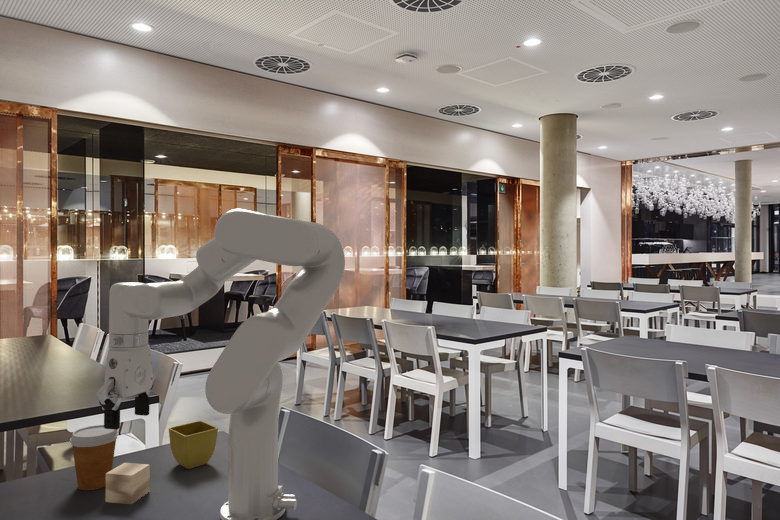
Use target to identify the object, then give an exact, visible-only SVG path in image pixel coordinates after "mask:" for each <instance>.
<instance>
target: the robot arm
mask: <svg viewBox="0 0 780 520" xmlns="http://www.w3.org/2000/svg"><path fill="white" fill-rule="evenodd" d="M213 232H214V237H213V238H211V239H210V240H208V241H207V242H205V243H204V244H202V245H200V247H199V248H197V249H196V252H195V258H196V263H197V267H196V268H194V269H193V270H192V271H191V272H189V273H187V274H186V275H185V276H183V277H182V278H180V279H178V280H176V281H161V282H149V283H148V282H147V283H144V282H135V281H134V282H132V281H131V282H129V281H128V282H126V281H125V282H116V283H113V284H112V285H111V286H110V288H109V298H108V299H109V300H108V301H109V303H108V305H109V307H108V309H109V311H108V312H109V314H108V315H109V317H108V350H107V357H106V361H105V370H104V383H103V385H102V386H101V387H100V388H99V389H98V390H97V392H96V396H97V398H98V401H99V402H98V403H99V405H100V406H101V410H103V425H104V428H105V429H115V430H117V431H118V430H119V429H120V427H121V409H119V407H120V405H121V403H122V401H123V399H125V400H126V399H130V398H134V415H135V416H143V417H144V416H145V417H146V416H147V417H148V416H149V415H150V406H151V405H150V404H151V402H150V399H151V396H152V390H153V387H154V381H155V379H156V373H154V372H153V360H152V359H153V358H152V351H151V347H150V344H149V321H153V320H154V321H155V320H161V319H166V318H171V317H178V316H184V315H186V314H188V313H191V312H193V311H195V310H196V309H197V308H199V307H201V306H202V305H204V303H206V302H208V301H209V300H211V299H212V298H214V296H216V295H217V294H218V293H219V291H220V290H221V288H223V286H224V284H225V282H226V281H228V280H229V279H231V278H232V277H233V276H235V275H237V274H238V273H240V272H241V271H242V270H244V269H245V268H247V267H248V266H250V265H251V264H253V263H255V262H256V261H261V262H267V263H272V264H277V265H280V266H286V267H301V268H300V270H299V272H298V273H297V274H296V275H295V276H294V277H293V279H292V280H291V281H290V282H289V283H288V284H287V286H286V288H285V289H284V290H283V293H282V294H281V295H280V297H279V299H278V300H277V302H276V303H275V304H274V305H273V306H272V308H271V309H269V310H267V311H265V312H260V313H257V314H254V315H252V316H250V317H248V318H247V319H245V320H244V321H243V322H242V323H241V324H240V325H239V326H238V327H237V329H236V330H235V332H234V333H233V334H232V336H231V337H230V339H229V341H227V344H226V345H225V347H224V349H222V352H221V353H220V354H219V356H218V358H217V359H216V361H215V362H214V365H213V366H212V367H211V370H210V371H209V373H208V374H207V378H206V382H205V386H204V387H205V391H204V392H205V397H206V400H207V402H208V404H209V406H210V407H211V408H212V409H213V410H215V411H216V412H218V413H220V414H225V415H229V422H228V423H229V424H228V492H227V494H228V497H227V498H228V501H225V502H224V504H222V506H221V507H220V511H219V517H220V519H221V520H278V519H280V518H281V517H282V516H283V515H284V514H285V512H286V510H289V511H290V510H291V511H292V510H293V511H296V509H297V506H298V500H297V498H296V494H292V493H291V494H286V493H285V492H283V485H278V484H279V483H278V481H279V479H278V478H279V477H278V476H279V417H280V415H279V413H280V402H281V395H282V390H283V389H282V388H283V379H284V378H283V372H282V370H283V369H282V368H281V365H280V363H279V362H281V361H283V360H285V359H287V358H290V357H291V356H293V355H295V354H297V352H298V351H299V350H300V348H301V347H302V346H303V344H304V343H305V341H306V339H307V337H308V336H309V334H310V333H311V331H312V329H314V326H315V325H316V324H317V322H318V321H319V319H320V318H321V316H322V313H323V312H324V311H325V309H326V308H327V306H328V304H329V303H330V302H331V300H332V299H333V297H334V296H335V294H336V293H337V290H338V288H339V286H340V284H341V282H342V279H343V277H344V272H345V267H346V258H345V252H344V248H343V245H342V243H341V241H340V239H339V238H338V236H337V235H336V233H335V232H334V231H333V230H332V229H330V228H329V227H328V226H325V225H324V224H322V223H321V224H320V223H318V222H314V221H313V222H312V221H306V220H300V219H295V218H291V217H290V218H289V217H283V216H278V215H272V214H266V213H264V212H260V211H257V210H250V209H245V208H234V209H231V210H228V211H226V212H224V213H223V214H222V215H221V216H220V217H219V218H218V219H217V221H216V223H215V227H214V230H213ZM112 400H114V401H112Z"/></svg>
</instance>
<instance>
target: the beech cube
mask: <svg viewBox="0 0 780 520" xmlns="http://www.w3.org/2000/svg"><path fill="white" fill-rule="evenodd" d="M150 466H151V464H148V463H133V462H123V463H121V464H120V465H118V466H116V467H115V468H112V470H111V471H109V472H107V473H106V486H105V503H110V504H111V503H112V504H113V503H114V504H124V505H133V504H134V503H136V502H137V501H139V500H140V499H141V497H142V496H143V497H145V496H146V495H147V494H149V493H150V491H151V490H150V489H151V488H150V487H151V485H150V483H151V481H150V480H151V476H150V473H151V470H150V469H151V467H150ZM148 492H149V493H148ZM145 494H146V495H145ZM143 497H142V498H143ZM138 499H139V500H138Z"/></svg>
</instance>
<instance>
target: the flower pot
mask: <svg viewBox="0 0 780 520" xmlns="http://www.w3.org/2000/svg"><path fill="white" fill-rule="evenodd" d="M218 431H219V428H218V427H217V426H214V425H212V424H210V423H207V422H205V421H203V420H197V421H192V422H189V423H185V424H180V425H175V426H171V427H169V428H168V437H169V444H170V450H171V452H172V455H173V457H174V459H175V461H176V462H177V464H178V465H180V466H182V467H184V468H185V469H187V470H189V469H193V468H197V467H200V466H203V465H206V464H208V463H209V461H210V460H211V458H212V456H213V455H214V452H215V449H216V446H217V440H218V439H217V437H218Z"/></svg>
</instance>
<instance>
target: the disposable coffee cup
mask: <svg viewBox="0 0 780 520" xmlns="http://www.w3.org/2000/svg"><path fill="white" fill-rule="evenodd" d="M118 436H119V431H118V429H117V430H115V429H105V428H104V424H96V425H90V426H84V427H82V428H79V429H76V430H75V431H73V432H72V435H71V437H70V438H69V442H70V444H71V446H72V447H71V448H72V454H73V460H74V467H75V475H76V482H77V483H76V484H77V488H78V489H79V490H81V491H94V490H99V489H102V488H106V473H107V472H109V471H111V470H113V465H114V457H115V450H116V442H117V439H118Z"/></svg>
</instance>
